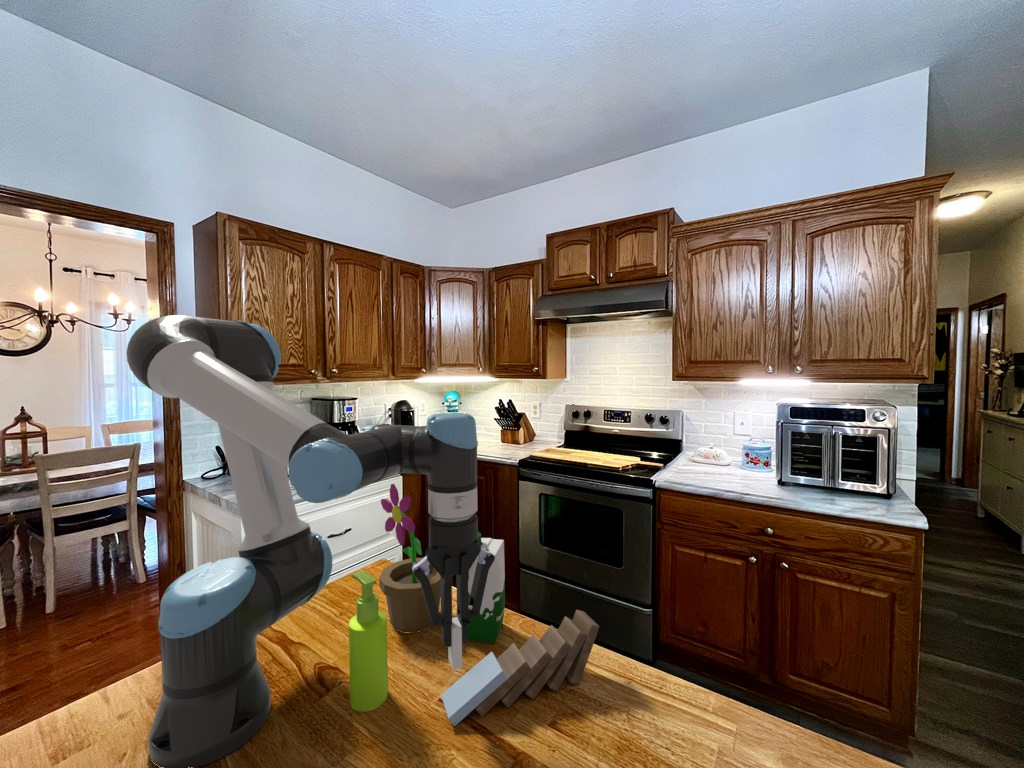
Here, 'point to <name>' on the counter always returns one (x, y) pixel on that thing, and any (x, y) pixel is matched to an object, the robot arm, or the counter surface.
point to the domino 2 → (513, 670)
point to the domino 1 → (473, 688)
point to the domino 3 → (536, 660)
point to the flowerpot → (406, 573)
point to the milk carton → (489, 595)
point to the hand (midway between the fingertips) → (455, 663)
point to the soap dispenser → (368, 649)
